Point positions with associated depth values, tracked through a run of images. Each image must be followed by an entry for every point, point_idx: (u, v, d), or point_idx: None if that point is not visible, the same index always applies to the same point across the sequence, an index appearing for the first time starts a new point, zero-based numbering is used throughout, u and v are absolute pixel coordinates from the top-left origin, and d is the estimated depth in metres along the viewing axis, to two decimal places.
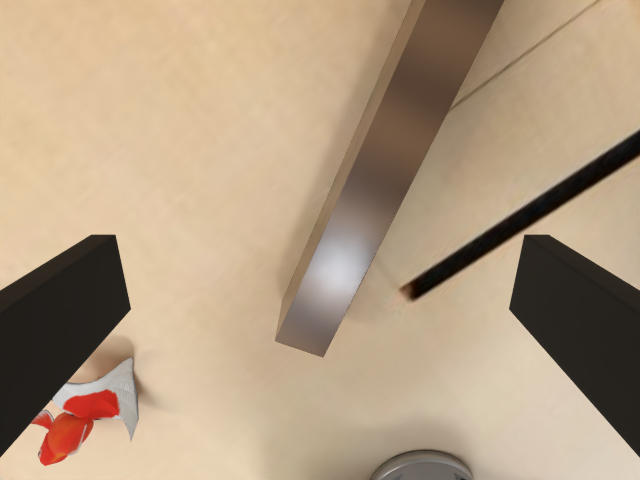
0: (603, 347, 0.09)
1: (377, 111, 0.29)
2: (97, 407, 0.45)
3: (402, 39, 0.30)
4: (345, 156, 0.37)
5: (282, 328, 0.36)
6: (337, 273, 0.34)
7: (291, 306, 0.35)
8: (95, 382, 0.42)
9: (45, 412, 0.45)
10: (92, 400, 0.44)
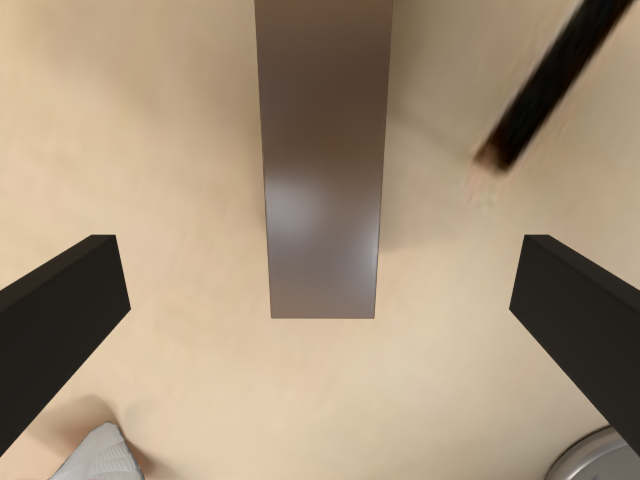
0: (602, 347, 0.09)
1: None
2: None
3: None
4: None
5: (272, 289, 0.18)
6: (328, 127, 0.15)
7: (269, 237, 0.17)
8: (54, 479, 0.26)
9: None
10: None
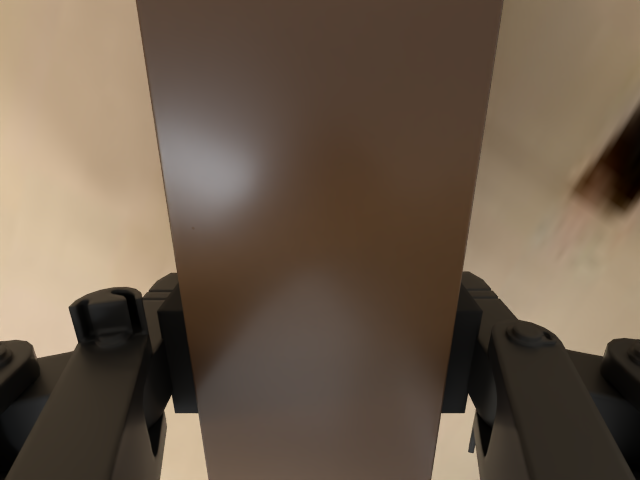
0: None
1: None
2: None
3: None
4: None
5: None
6: (332, 157, 0.06)
7: (200, 394, 0.08)
8: None
9: None
10: None
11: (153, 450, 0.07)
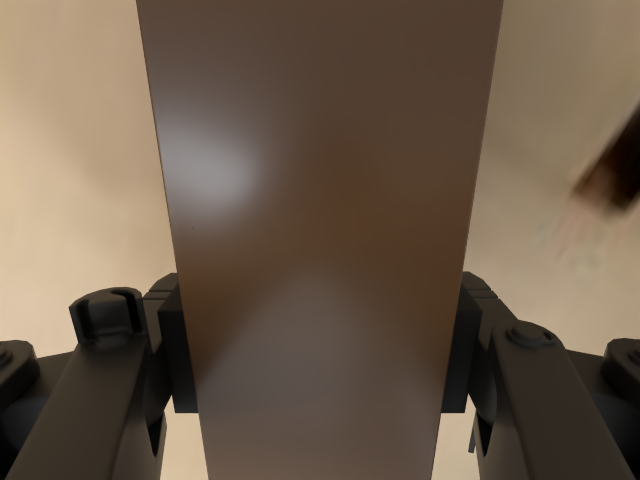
0: None
1: None
2: None
3: None
4: None
5: None
6: (332, 157, 0.06)
7: (200, 394, 0.08)
8: None
9: None
10: None
11: (153, 450, 0.07)
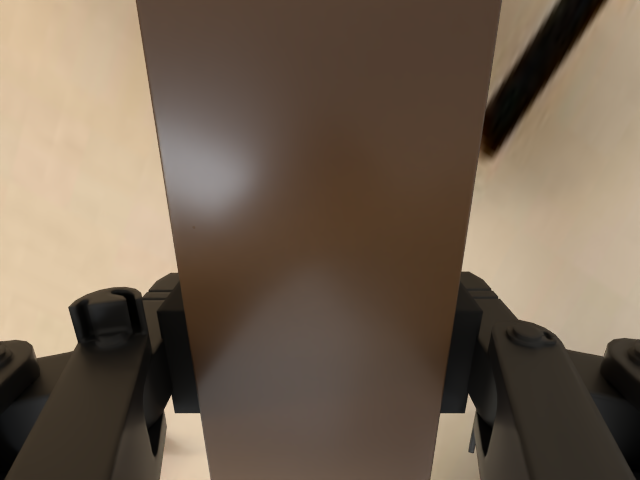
0: None
1: None
2: None
3: None
4: None
5: None
6: (333, 155, 0.06)
7: (201, 392, 0.08)
8: None
9: None
10: None
11: (153, 450, 0.07)
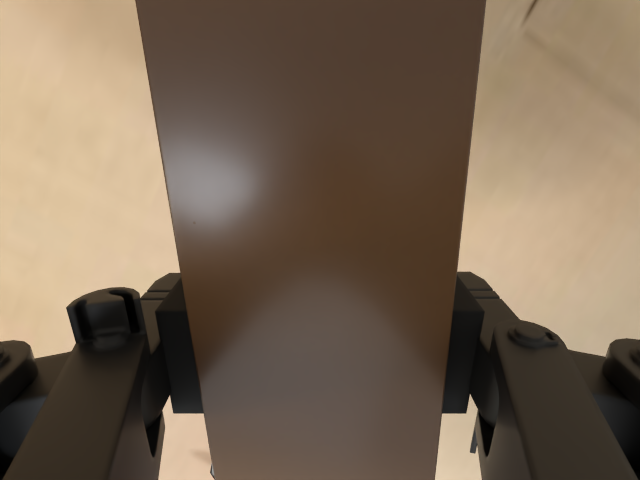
0: None
1: None
2: None
3: None
4: None
5: None
6: (327, 149, 0.06)
7: (204, 389, 0.08)
8: None
9: None
10: None
11: (151, 450, 0.07)
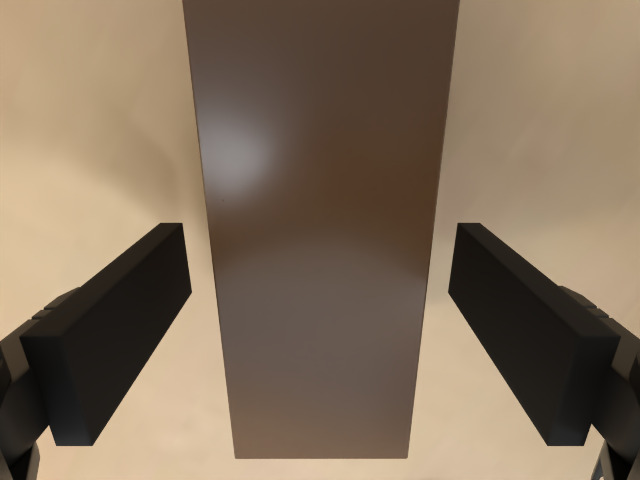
0: (505, 319, 0.10)
1: None
2: None
3: None
4: None
5: (235, 417, 0.11)
6: (331, 144, 0.08)
7: (224, 338, 0.10)
8: None
9: None
10: None
11: None
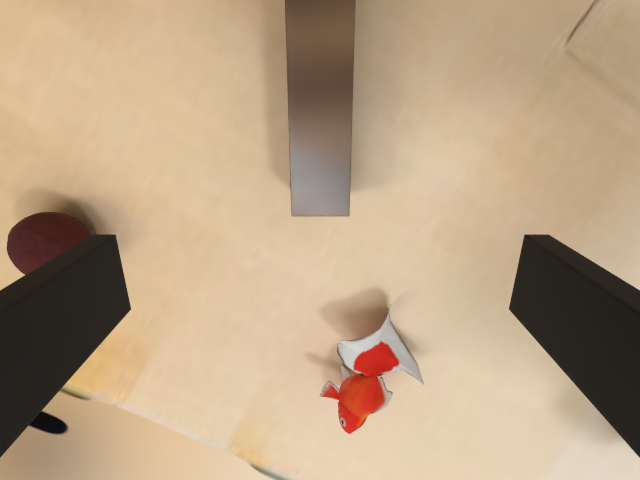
0: (603, 347, 0.09)
1: None
2: (377, 362, 0.44)
3: None
4: None
5: (292, 198, 0.33)
6: (322, 107, 0.30)
7: (291, 168, 0.32)
8: (377, 332, 0.41)
9: (329, 384, 0.45)
10: (374, 355, 0.43)
11: None
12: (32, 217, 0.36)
